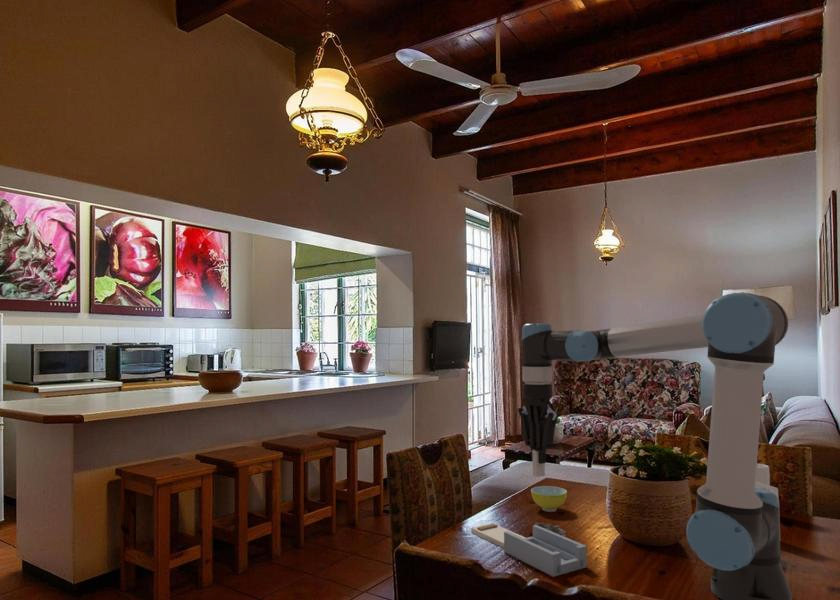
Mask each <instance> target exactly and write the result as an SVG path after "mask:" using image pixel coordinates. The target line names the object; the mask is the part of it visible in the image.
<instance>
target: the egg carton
mask: <svg viewBox="0 0 840 600" xmlns="http://www.w3.org/2000/svg"><path fill="white" fill-rule="evenodd" d="M534 525H537V526H540V527H542V528H545V529H547V530H549V531H552V532H554V533H557V534H559V535H561V536H564V537H566V536H567V532H566V530H563V529H562V528H560V526H559V525H558V524H556V525H552V523H550V524H549V523H543V522H542V523H539V522H536V521H535V522H534Z"/></svg>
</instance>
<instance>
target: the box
mask: <svg viewBox="0 0 840 600" xmlns="http://www.w3.org/2000/svg"><path fill="white" fill-rule="evenodd" d="M564 536H565V535H564ZM564 536H561V535H559V534H557V533H554V532H552V531H549V530H547V529H545V528H542V527H540V526H537V525H535V524H534V525H532V536H529V537H525V538H521V537H519V536H517V535H515V534H513V533H510V532H508V531H506V532H504V548H503V549H504V550H503V552H504V553H506V554H508V555H510V556H512V557H513V558H516V559H518V560H520V561H522V562H524V563H525V564H527V565H530V567H531V566H532V567H533V568H534V569H536V570H539V571H541V572H543V573H545V574H546V575H549V576H550V577H552V578H553V577H557V576H561V575H564V574H569V573H571V572H575V571H578V570H583V569H585V568H587V567H588V558H587V557H588V555H587V554H588V553H587V552H588V551H587V545H585V544H583V543H581V542H579V541H576V540H573V539H571V538H568V537H566V536H565V537H564Z"/></svg>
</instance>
